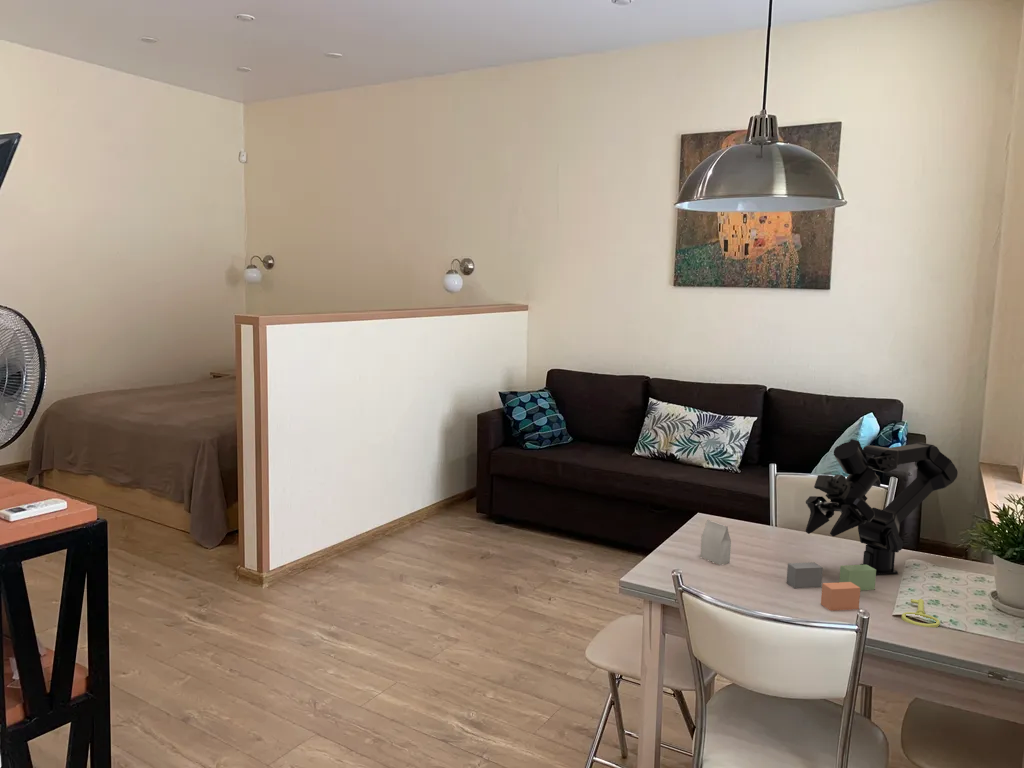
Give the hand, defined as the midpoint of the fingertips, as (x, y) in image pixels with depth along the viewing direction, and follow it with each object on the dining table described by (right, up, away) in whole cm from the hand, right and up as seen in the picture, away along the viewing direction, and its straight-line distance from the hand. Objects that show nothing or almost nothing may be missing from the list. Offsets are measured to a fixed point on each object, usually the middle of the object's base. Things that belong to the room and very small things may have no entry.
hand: (819, 533), depth 184 cm
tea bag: (-21, -10, +17) cm, 29 cm away
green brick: (+9, -13, 0) cm, 16 cm away
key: (+16, -16, -16) cm, 27 cm away
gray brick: (-3, -13, +1) cm, 13 cm away
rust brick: (0, -14, -12) cm, 18 cm away
